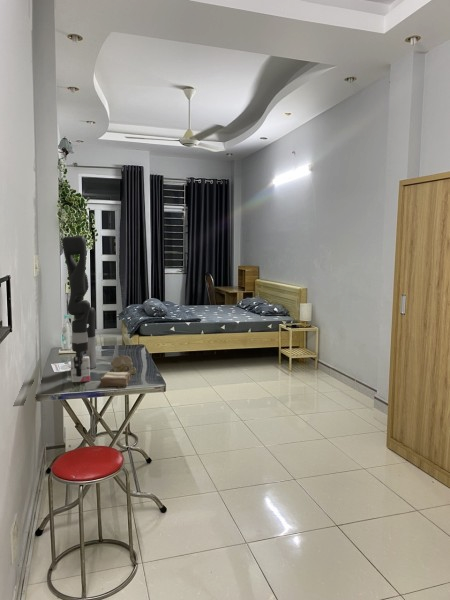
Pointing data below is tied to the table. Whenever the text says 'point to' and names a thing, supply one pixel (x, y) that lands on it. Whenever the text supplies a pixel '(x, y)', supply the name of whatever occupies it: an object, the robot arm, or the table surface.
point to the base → (115, 379)
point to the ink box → (84, 370)
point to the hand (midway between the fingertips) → (80, 374)
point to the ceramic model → (122, 364)
